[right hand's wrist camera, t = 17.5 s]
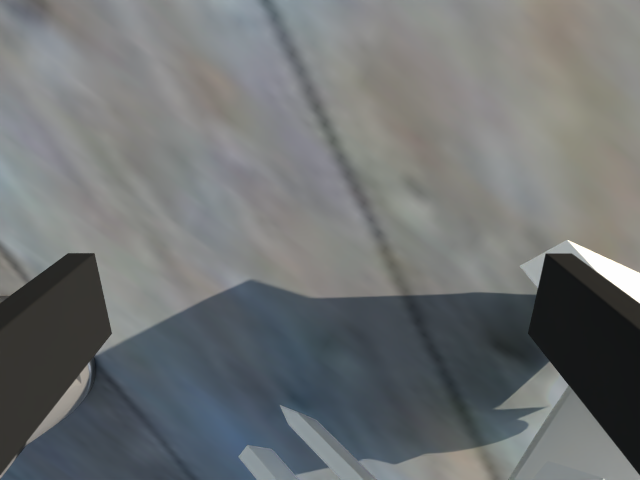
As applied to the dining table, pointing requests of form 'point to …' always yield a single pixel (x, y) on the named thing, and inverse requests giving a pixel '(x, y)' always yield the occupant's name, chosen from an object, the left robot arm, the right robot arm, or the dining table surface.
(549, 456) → the white plastic object
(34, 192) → the dining table surface
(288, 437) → the dining table surface
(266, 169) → the dining table surface
